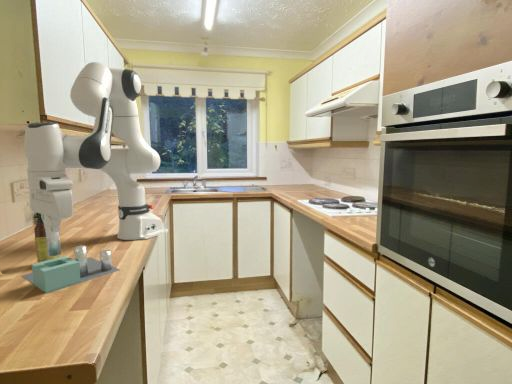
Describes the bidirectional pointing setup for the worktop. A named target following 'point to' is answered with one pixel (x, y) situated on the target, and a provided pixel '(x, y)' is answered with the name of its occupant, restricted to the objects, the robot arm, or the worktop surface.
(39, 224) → the sauce bottle
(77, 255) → the medium pin
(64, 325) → the worktop surface
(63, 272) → the block
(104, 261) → the short pin
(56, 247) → the long pin
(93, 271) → the mat
